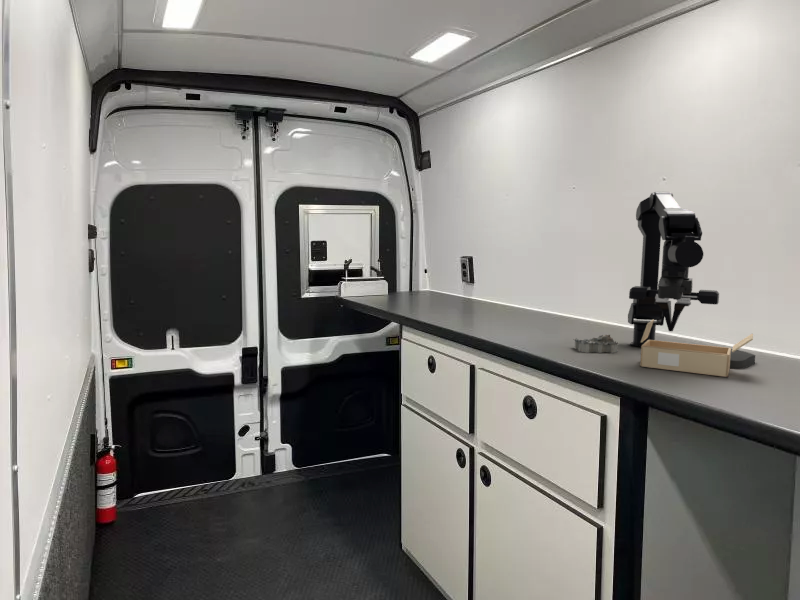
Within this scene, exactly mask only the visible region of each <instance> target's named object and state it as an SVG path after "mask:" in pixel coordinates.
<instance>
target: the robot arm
mask: <svg viewBox="0 0 800 600" xmlns="http://www.w3.org/2000/svg"><path fill="white" fill-rule="evenodd" d="M635 219H636V221H637V228H638V230H639V231H640V233H641V235H642V253H641V266H640V267H641V268H640V269H641V270H640V285H639V286H638V285H635V286H632V287H631V288H630V289H629V291H628V292H629V293H628V295H629V296H628V298H629V299H630V300H632V302H631V303H630V306H629V307H630V308H629V311H628V314H627V323H629V324H630V325H633V335H632V341H631V342H630V343H629V346H631V347H640V348H641V346H642V345H643V344H644V343H645V342H646V341H647V340H656V329H657V327H656V326H664V322H665V324H666V326H667V330H668V332H673V331H674V329H675V327H676V326H677V325H676V324H677V323H678V320H679V318H680V317H681V314H682V312H683V310H684V309H685V307H689V306H690V305H692V302H691V301H698V302H699V303H700V304H701V305H702V304H704V305H718V304H719V303H720V301H719V300H720V293H719V291H717V290H711V289H699V290H698V292H694V291H693V278H691V277H689V272H690V270H689V269H690V268H693V267H694V268H695V266H698V265H699V264H700V263H701V262H702V260H703V258H704V250H703V247H702V246H701V245H700V244H699V243H698V242H699V241H701V240H702V236H703V231H702V228H701V223H700V221H699V218H698V216H696V213H695V211H693V210H691V209H687V208H686V209H685V208H682V207H681V206H680V205H679V203H678V202H677V201H676V200H675V198H674V194H673V192H670V191H654V192H651V193H650V195H649V197H647V198H645V199H643V200H641V201H640V202H639V204H638V206H637V208H636V212H635ZM661 240H662V241H664V242H663V245H662V246H663V247H662V258H661ZM696 241H698V242H696ZM660 258H661V259H662V260H661V261H662V262H661V272H660V271H659V270H660ZM659 273H661V274H660V279H659ZM670 299H673V300H675V301H676V302H675V303H674V304H673V305H674V306H673V313H672V300H670ZM653 319H654V322H653V324H652V327H651V330H650V333H649V335H648V338H647V339H646V340H644V341H643V342H641V340H642V337H643V334H644V331H645V329H646V326H647V323H649V322H650V321H651V320H653Z"/></svg>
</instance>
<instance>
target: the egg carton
mask: <svg viewBox="0 0 800 600" xmlns="http://www.w3.org/2000/svg"><path fill="white" fill-rule="evenodd" d="M573 341H574V350H577V351H578V352H583V353H592V352H593V353H600V354H601V353H602V354H603V353H609V354H612V353H613V354H614V353H617V352H618V345H620V343H619V342H618V341H616V340H614V338H613V337H611V334H604V335H603V334H602V335H599V336H598V337H592V338H582V339H578V338H577V337H576V338H573Z"/></svg>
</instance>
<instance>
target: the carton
mask: <svg viewBox="0 0 800 600" xmlns="http://www.w3.org/2000/svg"><path fill="white" fill-rule="evenodd" d="M731 349H732V347H727V346H717V345H716V346H715V345H708V344H707V345H706V344H705V345H704V344H695V343H694V344H693V343H686V342H685V343H684V342H674V341H665V340H664V341H663V340H656V339H655V340H647V341H646V342H645V343H644V344H643V345H642V346H641V347H640V362H639V363H640V365H639V366H640V367H641V368H650V369H656V370H658V369H659V370H667V371H674V372H682V373H690V374H698V375H708V376H714V377H715V376H716V377H723V378H728V377H729V374H730V369H731V368H730V357H731Z"/></svg>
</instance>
